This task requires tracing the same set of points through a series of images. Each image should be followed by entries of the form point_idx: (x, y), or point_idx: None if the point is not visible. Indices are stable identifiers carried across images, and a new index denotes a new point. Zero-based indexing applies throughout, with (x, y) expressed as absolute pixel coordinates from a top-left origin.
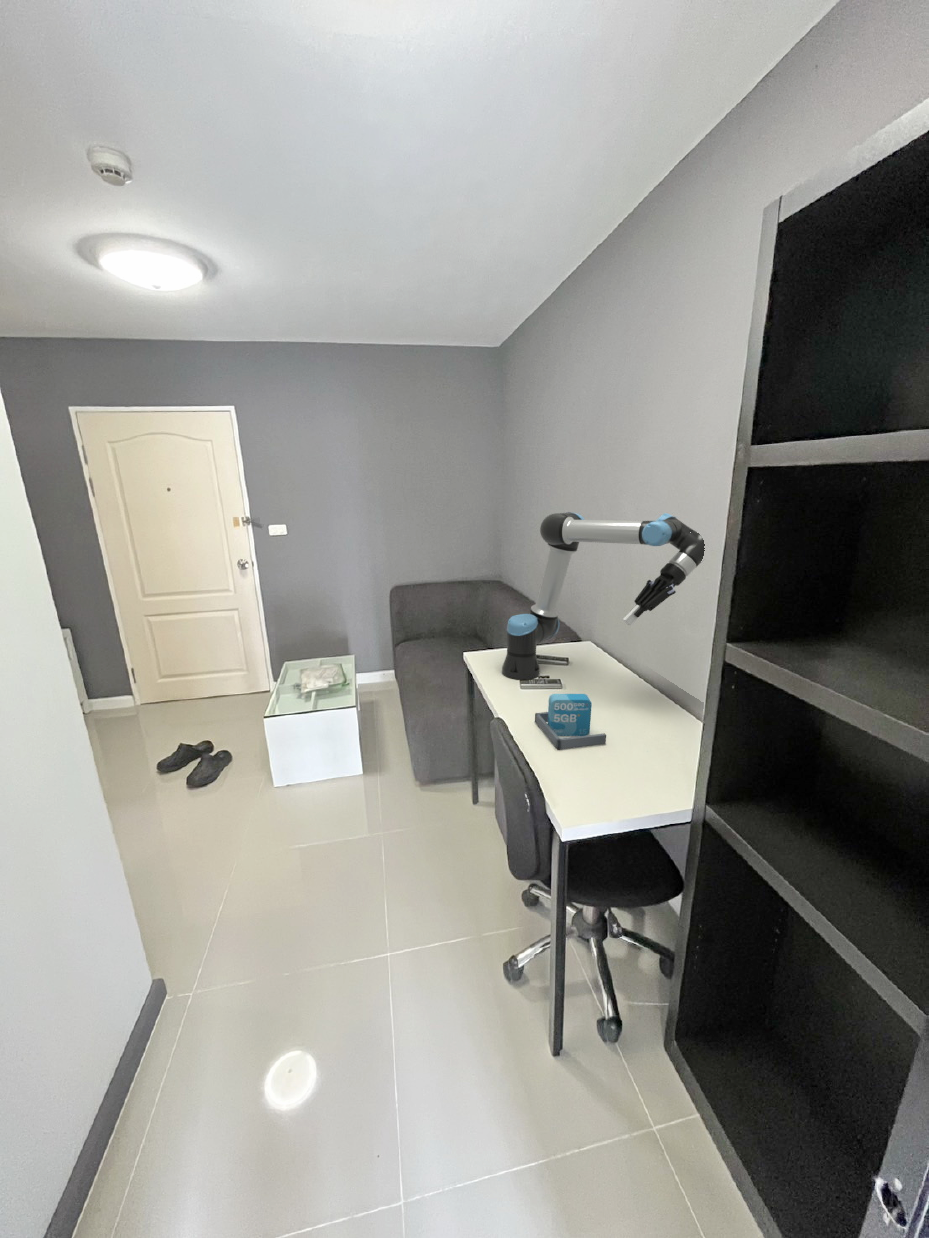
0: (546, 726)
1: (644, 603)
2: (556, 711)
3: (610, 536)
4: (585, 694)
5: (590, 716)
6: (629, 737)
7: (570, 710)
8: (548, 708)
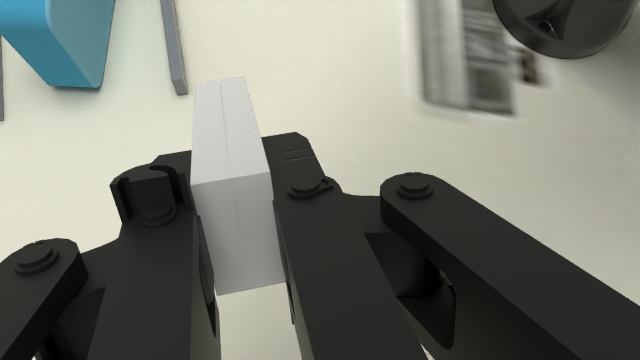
0: None
1: (126, 247)
2: None
3: None
4: (44, 9)
5: (19, 53)
6: (21, 210)
7: None
8: None
